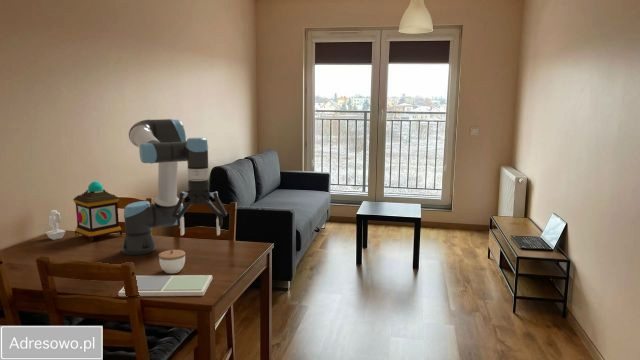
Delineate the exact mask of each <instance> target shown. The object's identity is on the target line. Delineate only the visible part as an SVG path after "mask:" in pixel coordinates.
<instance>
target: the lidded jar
mask: <svg viewBox="0 0 640 360" xmlns="http://www.w3.org/2000/svg"><path fill="white" fill-rule="evenodd" d="M158 258H159V259H158V260H159V265H160V267H161V269H162V270H163V271H164V272H165V273H166V274H177V273H179V272H181V270H182V269H183V268H184V266H185V262H186V251H184V250H182V249H170V250H164V251H162V252H160V253H158Z"/></svg>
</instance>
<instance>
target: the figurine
mask: <svg viewBox="0 0 640 360" xmlns="http://www.w3.org/2000/svg"><path fill="white" fill-rule="evenodd" d="M47 221H48V226H50V227H51V230H49V231H45V232H44V233H45V234H46V235H47V237H48V238H49V239H50V240H53V241H55V240H60V239H63V238H64V235H65V234H66V230H63V229H59V223H60V222H61V213H60V212H58V210H57V209H56V210H54V209H53V210H50V214H49V216H48V219H47Z"/></svg>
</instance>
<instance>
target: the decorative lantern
mask: <svg viewBox="0 0 640 360" xmlns="http://www.w3.org/2000/svg"><path fill="white" fill-rule="evenodd" d="M85 190H86V191H85V192H83V193H81V194H79V195H76V196H75V197H74V198H73V199H72V200H73V203H74V204H75V212H76V228H75V230H74V234H75V237H76V238H79V237H80V235H82V236H84V237H87V238H88V241H89V243H93V239H94V238H95V237H100V236H104V235H109V234H114V233H118V237H122V236H123V230H122V228H121V226H120V222H119V209H118V207H119V206H118V204H119V201H120V198H119V197H118V196H117V195H115V194H112V193H109V192H108V191H106V189H104V186H103V185H102V183H100V182H99V181H95V180H94V181H91V182H90V184H89V185H88V187H87V189H85Z"/></svg>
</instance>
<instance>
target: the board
mask: <svg viewBox="0 0 640 360" xmlns="http://www.w3.org/2000/svg"><path fill="white" fill-rule="evenodd" d="M135 276H136V280H137V286H138V292H139V295H140V296H139V297H177V296H179V297H181V296H182V297H184V296H185V297H186V296H190V297H192V296H195V297H196V296H205V293H206V291H207V290H208V288H209V286H210V285H211V282H212V280H213V274H212V275H210V274H206V275H200V274H199V275H197V274H196V275H193V274H192V275H191V274H190V275H189V274H188V275H183V274H182V275H135ZM118 297H127V296H126V295H125V289H124V286H123V287H122V288H121V289H120V290H119V291H118Z"/></svg>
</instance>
